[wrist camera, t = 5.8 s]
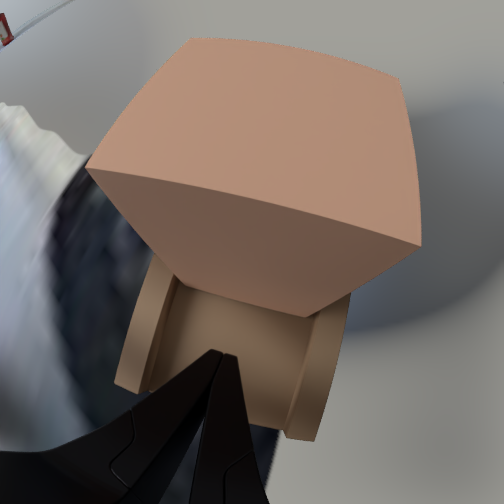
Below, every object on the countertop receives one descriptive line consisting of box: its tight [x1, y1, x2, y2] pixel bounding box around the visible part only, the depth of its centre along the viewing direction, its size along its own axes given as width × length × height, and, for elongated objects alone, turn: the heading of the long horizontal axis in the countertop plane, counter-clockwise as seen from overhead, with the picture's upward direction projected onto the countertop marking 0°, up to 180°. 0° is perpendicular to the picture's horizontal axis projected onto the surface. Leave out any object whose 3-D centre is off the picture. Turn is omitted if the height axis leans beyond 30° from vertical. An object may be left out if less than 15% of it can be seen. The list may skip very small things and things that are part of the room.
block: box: [85, 38, 421, 318], centre depth 11 cm, size 6×7×11 cm
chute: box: [114, 253, 351, 442], centre depth 14 cm, size 15×11×4 cm
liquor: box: [0, 13, 14, 46], centre depth 37 cm, size 7×7×28 cm
